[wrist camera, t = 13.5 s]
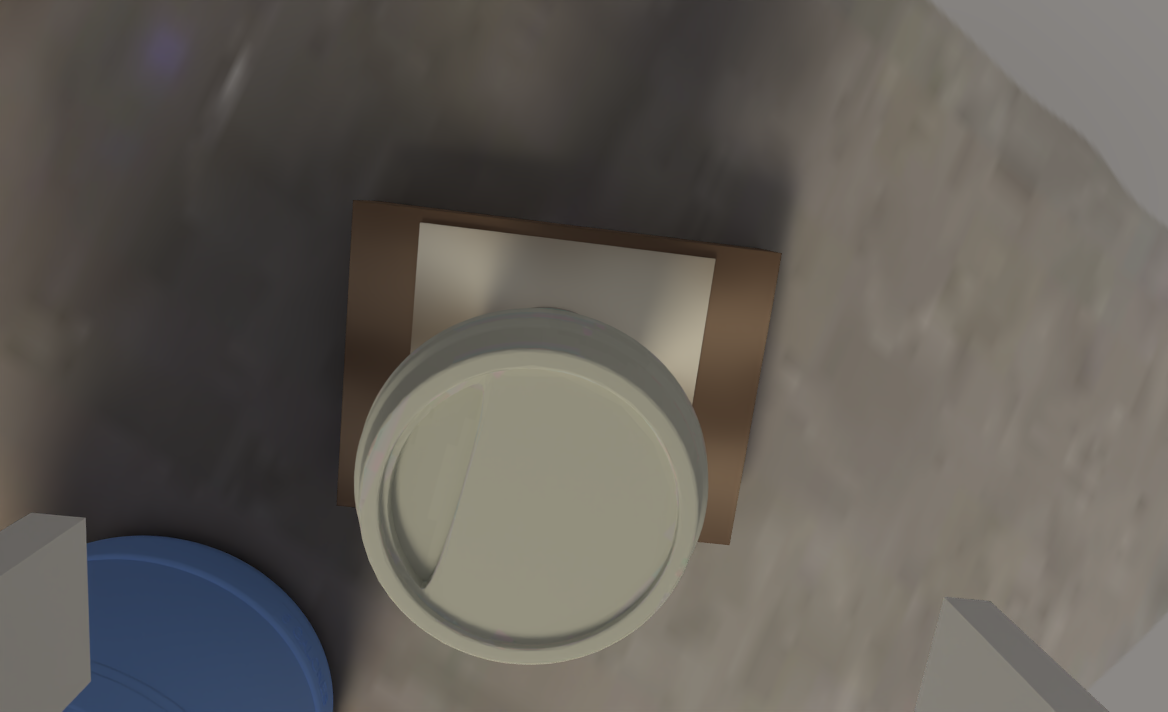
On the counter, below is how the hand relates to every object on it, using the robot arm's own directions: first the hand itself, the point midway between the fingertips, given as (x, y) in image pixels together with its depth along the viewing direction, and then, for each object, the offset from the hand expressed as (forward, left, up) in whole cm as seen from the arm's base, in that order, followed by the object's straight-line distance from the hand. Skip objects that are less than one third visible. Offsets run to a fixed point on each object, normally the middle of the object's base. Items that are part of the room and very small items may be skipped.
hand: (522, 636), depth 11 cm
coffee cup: (0, 0, -17) cm, 17 cm away
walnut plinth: (0, 0, -20) cm, 20 cm away
